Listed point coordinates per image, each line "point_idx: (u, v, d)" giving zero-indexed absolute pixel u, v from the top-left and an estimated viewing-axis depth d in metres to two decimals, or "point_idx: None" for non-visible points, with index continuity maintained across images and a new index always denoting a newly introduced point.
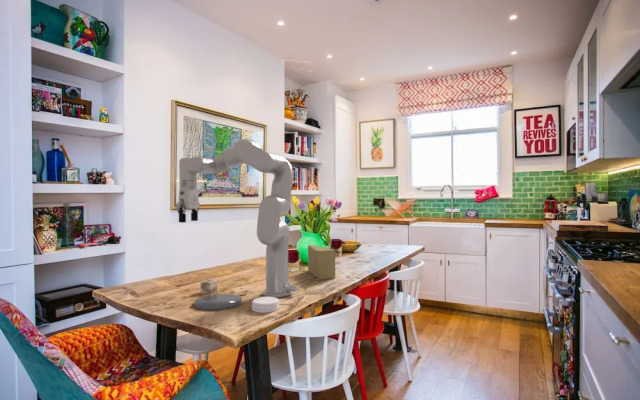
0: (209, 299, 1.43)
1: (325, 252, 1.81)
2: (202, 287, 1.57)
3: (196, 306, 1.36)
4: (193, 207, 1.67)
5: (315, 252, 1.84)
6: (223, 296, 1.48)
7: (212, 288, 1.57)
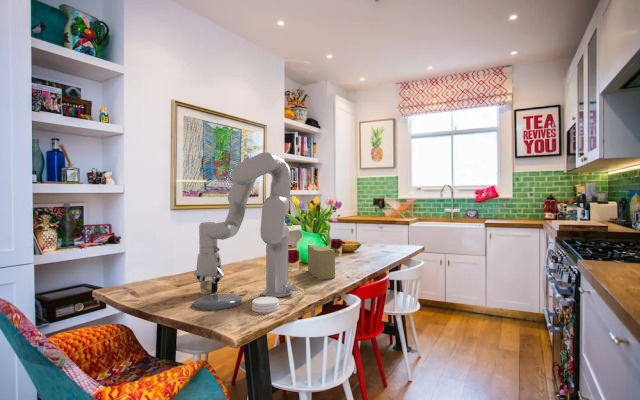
0: (209, 299, 1.43)
1: (325, 252, 1.81)
2: (202, 287, 1.57)
3: (196, 306, 1.36)
4: None
5: (315, 252, 1.84)
6: (223, 296, 1.48)
7: None
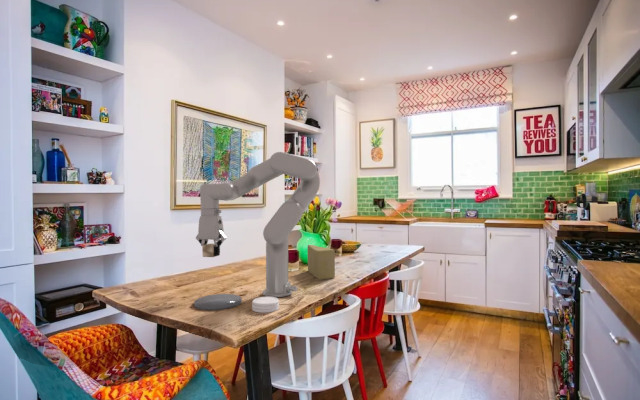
0: (209, 299, 1.43)
1: (324, 252, 1.81)
2: (203, 250, 1.53)
3: (196, 306, 1.36)
4: None
5: (314, 252, 1.84)
6: (223, 296, 1.48)
7: None
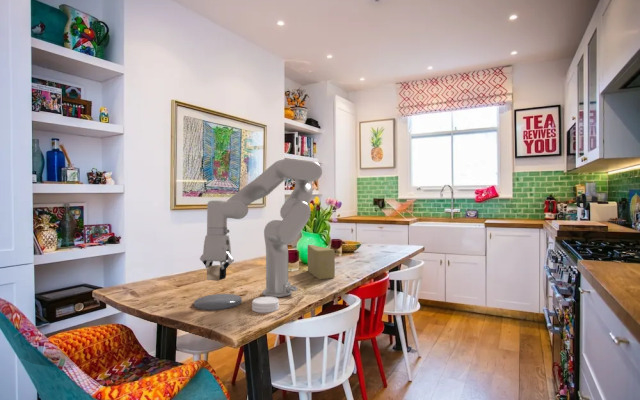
0: (209, 299, 1.43)
1: (324, 252, 1.81)
2: (208, 273, 1.40)
3: (196, 306, 1.36)
4: None
5: (314, 252, 1.84)
6: (223, 296, 1.48)
7: None
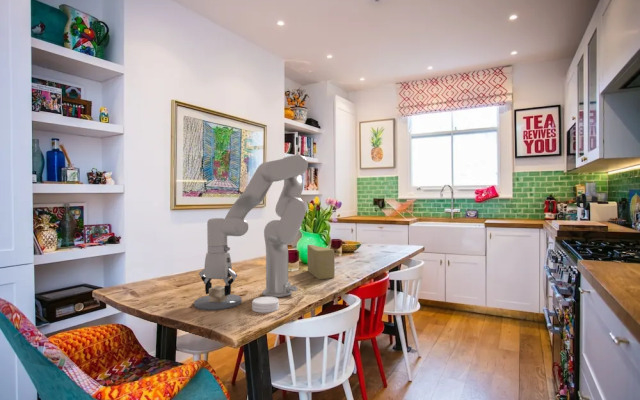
0: None
1: (324, 252, 1.81)
2: (210, 295, 1.41)
3: (196, 306, 1.36)
4: None
5: (314, 252, 1.85)
6: None
7: (221, 295, 1.40)
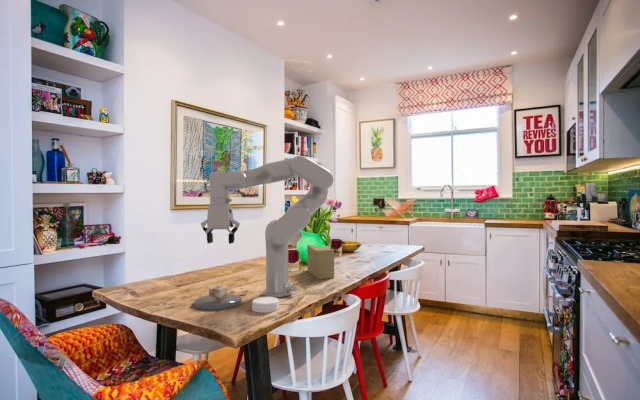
0: None
1: (324, 252, 1.81)
2: (210, 295, 1.41)
3: (196, 306, 1.36)
4: None
5: (314, 252, 1.85)
6: None
7: (221, 295, 1.40)
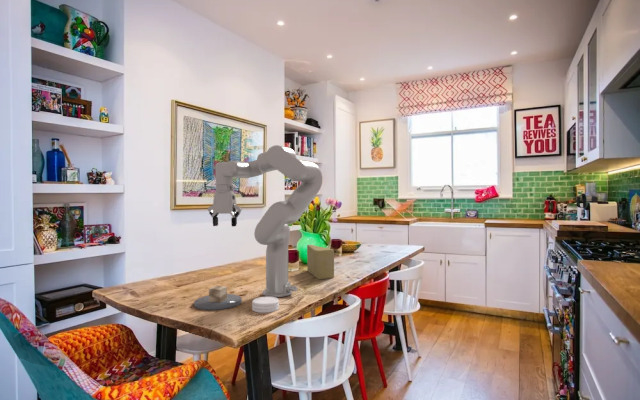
0: None
1: (324, 252, 1.82)
2: (210, 295, 1.41)
3: (196, 306, 1.36)
4: None
5: (314, 252, 1.85)
6: None
7: (221, 295, 1.40)
